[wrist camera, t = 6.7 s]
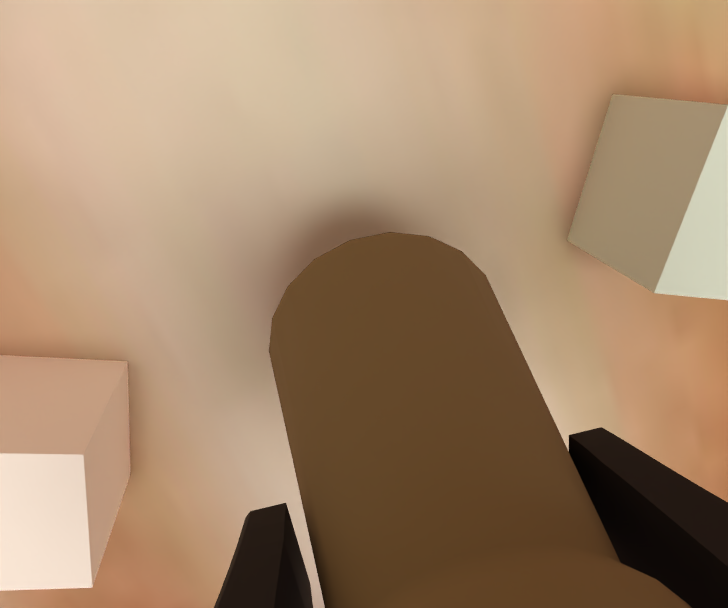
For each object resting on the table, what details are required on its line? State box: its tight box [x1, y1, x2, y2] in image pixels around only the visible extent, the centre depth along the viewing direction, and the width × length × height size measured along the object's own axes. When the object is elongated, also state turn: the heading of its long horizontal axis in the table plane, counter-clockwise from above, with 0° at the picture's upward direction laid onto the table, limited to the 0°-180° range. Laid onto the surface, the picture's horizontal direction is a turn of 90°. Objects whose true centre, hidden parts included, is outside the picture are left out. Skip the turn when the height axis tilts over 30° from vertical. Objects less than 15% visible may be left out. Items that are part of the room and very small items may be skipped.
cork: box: [269, 232, 692, 608], centre depth 9 cm, size 6×6×11 cm
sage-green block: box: [567, 94, 728, 300], centre depth 17 cm, size 5×5×5 cm
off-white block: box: [0, 355, 131, 591], centre depth 17 cm, size 5×5×5 cm
